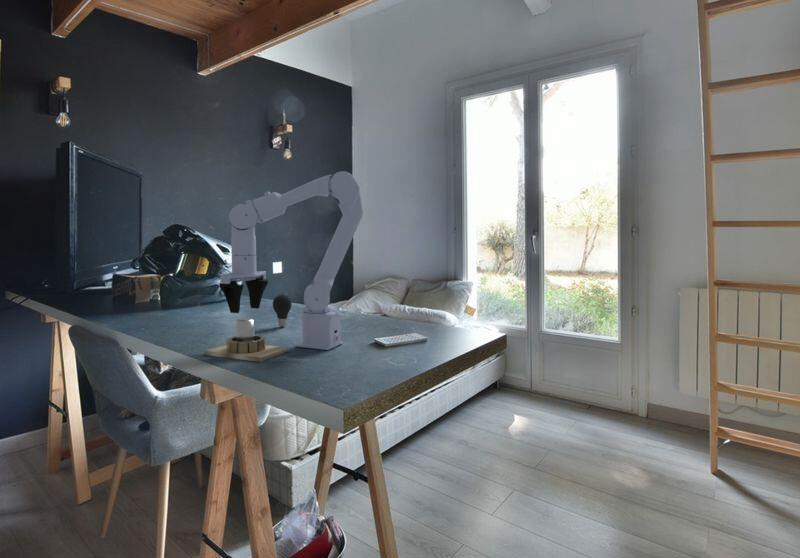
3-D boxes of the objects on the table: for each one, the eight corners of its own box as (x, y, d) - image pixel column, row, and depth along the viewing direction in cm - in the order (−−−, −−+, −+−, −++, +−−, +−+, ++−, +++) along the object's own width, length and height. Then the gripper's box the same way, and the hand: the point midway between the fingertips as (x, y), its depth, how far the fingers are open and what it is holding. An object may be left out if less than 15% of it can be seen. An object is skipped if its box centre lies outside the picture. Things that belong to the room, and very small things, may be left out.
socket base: (287, 351, 111) (287, 337, 111) (260, 362, 102) (260, 346, 102) (234, 345, 117) (234, 331, 117) (204, 354, 108) (204, 339, 107)
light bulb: (287, 329, 137) (286, 296, 137) (269, 328, 139) (269, 295, 138) (295, 325, 143) (294, 293, 142) (278, 325, 144) (277, 293, 143)
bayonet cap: (230, 349, 108) (230, 320, 108) (241, 346, 112) (241, 317, 112) (249, 351, 107) (249, 322, 106) (260, 348, 110) (260, 319, 110)
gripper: (249, 253, 121) (250, 305, 122) (209, 255, 107) (210, 313, 108) (272, 254, 118) (273, 306, 119) (233, 256, 105) (235, 315, 106)
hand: (245, 310), depth 114 cm, fingers open, 7 cm apart
